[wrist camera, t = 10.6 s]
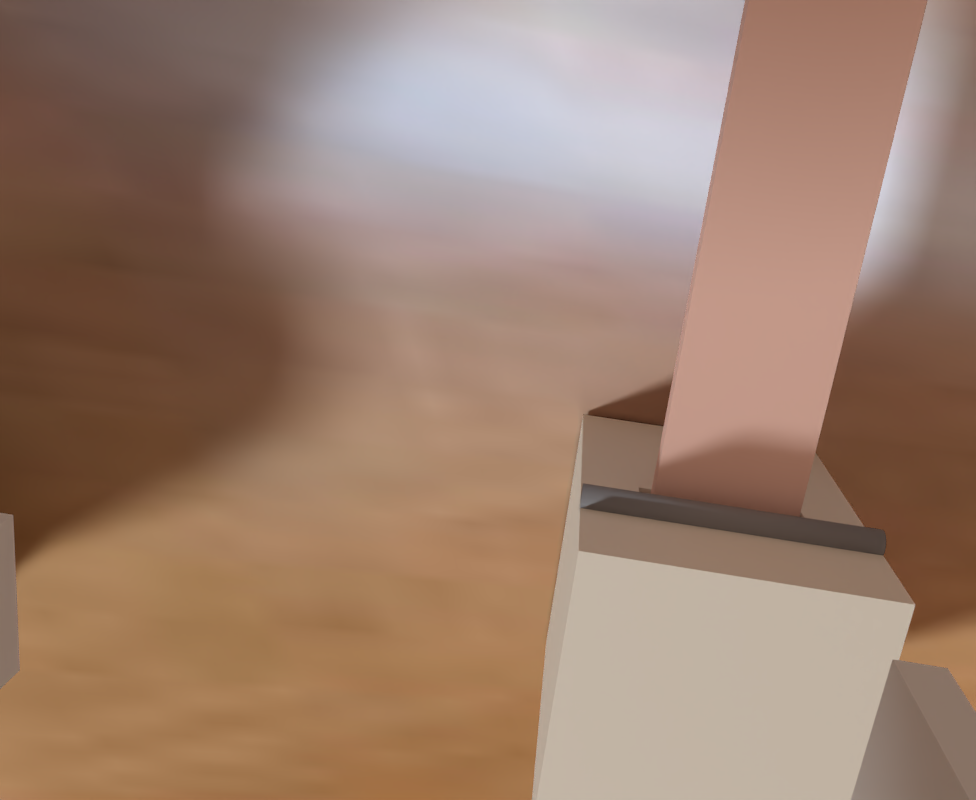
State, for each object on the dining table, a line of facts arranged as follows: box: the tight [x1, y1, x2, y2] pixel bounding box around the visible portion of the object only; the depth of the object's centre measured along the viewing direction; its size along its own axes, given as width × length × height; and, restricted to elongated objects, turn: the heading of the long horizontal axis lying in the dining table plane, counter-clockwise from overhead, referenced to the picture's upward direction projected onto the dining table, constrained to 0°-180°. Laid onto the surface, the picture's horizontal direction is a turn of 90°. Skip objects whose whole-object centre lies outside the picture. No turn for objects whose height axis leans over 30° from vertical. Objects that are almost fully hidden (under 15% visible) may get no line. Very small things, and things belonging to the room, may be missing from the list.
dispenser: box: [532, 414, 915, 800], centre depth 43 cm, size 12×15×16 cm
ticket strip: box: [651, 0, 927, 517], centre depth 36 cm, size 6×24×1 cm, turn 173°
